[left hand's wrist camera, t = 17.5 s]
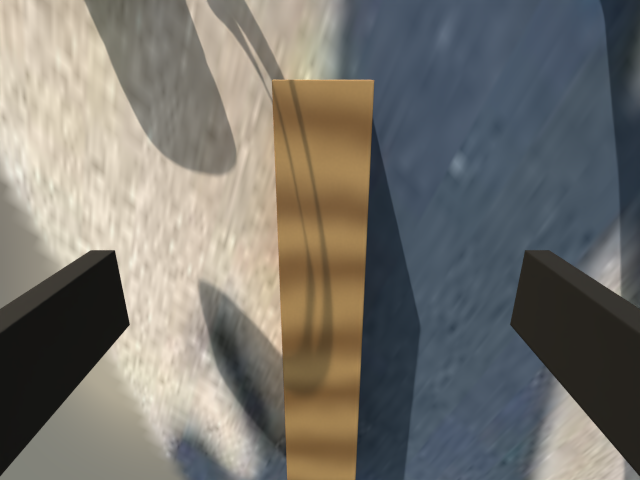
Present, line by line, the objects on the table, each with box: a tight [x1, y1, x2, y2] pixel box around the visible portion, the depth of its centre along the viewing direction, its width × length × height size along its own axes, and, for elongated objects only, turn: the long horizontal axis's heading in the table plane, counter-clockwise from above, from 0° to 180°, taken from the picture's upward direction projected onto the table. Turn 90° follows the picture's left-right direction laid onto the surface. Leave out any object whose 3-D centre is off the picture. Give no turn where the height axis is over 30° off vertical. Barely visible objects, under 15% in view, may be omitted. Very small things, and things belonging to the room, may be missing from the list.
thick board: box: [272, 80, 374, 480], centre depth 45 cm, size 53×9×7 cm, turn 0°
